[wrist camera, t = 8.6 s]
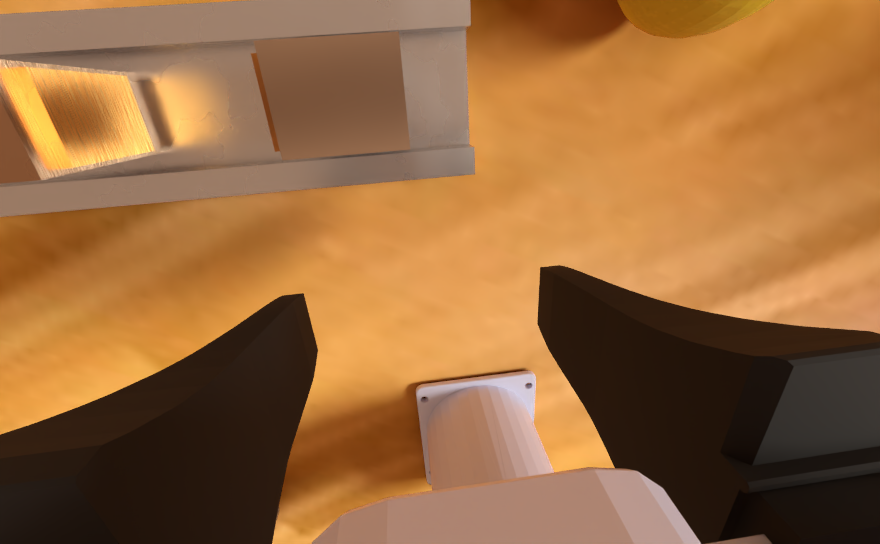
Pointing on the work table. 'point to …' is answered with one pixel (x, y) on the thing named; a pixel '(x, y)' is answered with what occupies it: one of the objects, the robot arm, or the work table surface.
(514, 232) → the work table surface
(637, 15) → the lemon
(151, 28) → the rail
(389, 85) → the brown rectangular block
